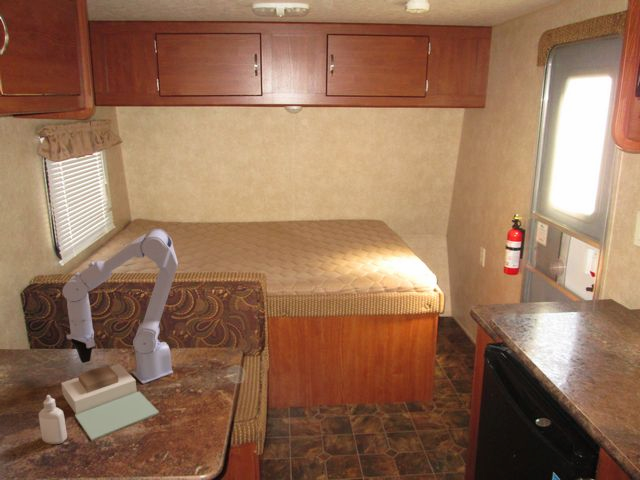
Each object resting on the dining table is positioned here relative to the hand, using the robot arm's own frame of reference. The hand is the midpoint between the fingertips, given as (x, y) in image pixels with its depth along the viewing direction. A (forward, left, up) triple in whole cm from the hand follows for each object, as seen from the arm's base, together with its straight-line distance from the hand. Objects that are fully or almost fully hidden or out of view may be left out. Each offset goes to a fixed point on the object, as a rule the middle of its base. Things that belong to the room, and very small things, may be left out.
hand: (85, 361), depth 147 cm
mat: (0, +23, -6) cm, 24 cm away
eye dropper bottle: (+15, +23, -6) cm, 28 cm away
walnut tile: (0, +10, -2) cm, 10 cm away
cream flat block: (0, +10, -6) cm, 12 cm away
